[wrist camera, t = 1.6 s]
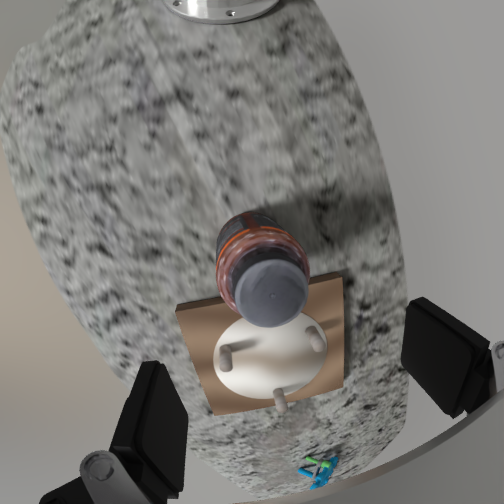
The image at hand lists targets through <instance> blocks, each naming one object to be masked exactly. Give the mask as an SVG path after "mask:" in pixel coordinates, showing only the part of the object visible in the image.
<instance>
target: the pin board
mask: <svg viewBox="0 0 504 504" xmlns="http://www.w3.org/2000/svg"><path fill="white" fill-rule="evenodd" d="M308 289H309V293H308V298H307V303H306V304H305V306H304V308H303V309H302V311H301V312H300V314H299V315H298V316H297V317H296V318H294V319H293V320H292V321H290V322H289V323H287V324H284V325H282V326H278V327H273V328H265V327H259V326H256V325H253V324H251V323H250V322H248V321H247V320H246V319H244V318H243V317H242V315H240V314H238V313H236V312H235V311H233V310H232V309H231V308H230V307H229V306H228V305H227V304H226V302H225V301H224V300H223V298H222V297H217V298H212V299H207V300H201V301H196V302H190V303H185V304H179V305H177V307H176V310H175V313H176V316H177V319H178V322H179V325H180V328H181V331H182V334H183V337H184V340H185V343H186V345H187V348H188V351H189V354H190V356H191V359H192V362H193V364H194V367H195V370H196V372H197V375H198V377H199V380H200V382H201V385H202V387H203V390H204V392H205V395H206V397H207V399H208V402H209V404H210V406H211V409H212V411H213V413H214V415H215V416H217V415H225V414H232V413H238V412H244V411H250V410H255V409H261V408H266V407H271V406H275V405H276V408H277V411H278V412H279V413H283V412H286V411H287V410H288V406H287V403H288V402H293V401H297V400H301V399H304V398H308V397H312V396H315V395H319V394H322V393H326V392H329V391H332V390H336V389H339V388H342V387H343V378H344V304H343V281H342V276H340V275H339V274H338V273H337V272H334V273H330V274H326V275H321V276H317V277H313V278H309V283H308Z"/></svg>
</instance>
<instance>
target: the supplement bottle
mask: <svg viewBox="0 0 504 504" xmlns="http://www.w3.org/2000/svg"><path fill="white" fill-rule="evenodd" d="M309 278H310V267H309V261H308V258H307V256H306V254H305V252H304V250H303V248H302V247H301V245H300V244H299V243H298V242H297V241H296V240H295V239H294V238H293V237H292V236H291V235H290V234H288V233H287V232H286V231H285V230H284V229H283V228H281V227H280V226H279V225H278V224H276V223H275V222H274V221H273V220H272V219H270V218H268V217H267V216H264V215H262V214H259V213H243V214H239V215H237V216H235V217H233V218H232V219H230V220H229V221H228V222H227V223H226V224H225V225H224V226H223V228H222V229H221V231H220V233H219V236H218V239H217V248H216V281H217V286H218V289H219V292H220V295H221V297H222V298H223V300H224V301H225V302H226V304H227V305H228V306H229V307H230V308H231V309H232V310H233V311H235V312H236V313H238V314H240V315H242V317H243V318H244V319H246V320H247V321H248V322H250V323H251V324H253V325H256V326H259V327H265V328H273V327H278V326H282V325H284V324H287V323H289V322H290V321H292V320H293V319H294V318H296V317H297V316H298V315H299V314H300V312H301V311H302V309H303V308H304V306H305V304H306V303H307V298H308V293H309V289H308V283H309Z"/></svg>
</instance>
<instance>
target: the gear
mask: <svg viewBox="0 0 504 504" xmlns="http://www.w3.org/2000/svg"><path fill="white" fill-rule="evenodd" d="M306 460H308V461H311V462H313V463H316V464H317V465H316V468H315V471H314V473H312V472H310V471H307V470H305V469H303V468H300V469H299V470H298V472H299V473H301V474H304V475H306V476H308V477H311V478H312V480H314V481H316V483H313V485H312V486H311V488H310V489H311V490H312V489H315V488H319V487H322V486H323V485H325V484H326V483H327V482H328V480H329V479H328V477H329V476H331V474H332V473H333V468H335V466H336V464H337V460H338V457H335V456H334V458H333V457H332V458H331V459H330V461H329V462H328V461H326V460H323V459H320V460H317V459H314V458H312V457H309V456H307V457H306ZM321 466H323V467H322V468H323V471H322V472H320V473H319V470H320V468H321Z"/></svg>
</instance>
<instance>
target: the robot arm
mask: <svg viewBox="0 0 504 504" xmlns="http://www.w3.org/2000/svg"><path fill="white" fill-rule="evenodd" d="M163 1H164V3H165V5H166V6H167V7H168V9H169V10H170V11H172V12H173V13H175V14H176V15H178V16H180V17H182V18H184V19H187V20H191V21H195V22H199V23H207V24H227V23H236V22H241V21H247V20H250V19H253V18H256V17H258V16H260V15H262V14H264V13H266V12H268V11H269V10H270V9H272V8H273V7H274V6H275V5H276V4H277V3H278V2H279V0H163ZM489 344H490V341H488V340H487V339H486V338H484V337H483V336H481V335H480V334H478V333H477V332H476V331H474V330H473V329H471V328H470V327H468V326H467V325H465V324H464V323H462V322H461V321H460V320H458V319H456V318H455V317H454V316H452V315H451V314H449V313H447V312H446V311H445V310H443V309H441V308H440V307H438V306H437V305H435V304H434V303H432V302H431V301H429V300H428V299H426V298H424V297H420V298H417V299H415V300H412V301H410V303H409V305H408V306H407V308H406V318H405V328H404V337H403V345H402V352H401V364H402V366H403V367H404V368H405V369H406V370H407V371H408V373H409V374H410V375H411V376H412V377H413V378H414V379H415V380H416V381H417V382H418V384H419V385H420V386H421V387H422V388H423V389H424V390H425V391H426V393H427V394H428V395H429V396H430V397H431V398H432V399H433V400H434V402H435V403H436V404H437V405H438V406H439V407H440V409H441V410H442V411H443V412H444V413H445V414H447V415H450V416H451V417H452V418H453V419H454V418H456V417H457V416H459V415H460V414H462V413H463V411H464V410H465V411H466V412H467V417H465V418H464V419H463V420H461V421H460V422H458V423H457V424H455V425H454V426H452V427H451V428H449V429H448V430H447V431H445V432H443V433H441V434H440V435H438V436H437V437H435V438H433V439H432V440H430V441H428V442H426V443H425V444H423V445H421V446H419V447H417V448H416V449H414V450H412V451H410V452H408V453H406V454H404V455H402V456H400V457H398V458H396V459H394V460H392V461H389V462H387V463H385V464H383V465H381V466H378V467H376V468H374V469H371V470H369V471H366V472H364V473H361V474H358V475H356V476H353V477H350V478H347V479H345V480H342V481H339V482H336V483H332V484H329V485H326V486H322V487H319V488H315V489H312V490H308V491H304V492H300V493H296V494H291V495H287V496H282V497H277V498H271V499H265V500H259V501H252V502H244V503H235V504H504V341H499V342H497V343H495V344H494V345H493V347H492V349H491V350H490V349H488V347H489ZM187 432H188V414H187V411H186V409H185V407H184V405H183V403H182V401H181V399H180V397H179V395H178V393H177V391H176V389H175V387H174V384H173V382H172V380H171V378H170V376H169V373H168V371H167V369H166V366H165V365H164V364H160V362H159V361H157V360H155V361H146V362H142V364H141V366H140V369H139V371H138V374H137V377H136V379H135V382H134V385H133V387H132V390H131V393H130V395H129V397H128V398H127V400H126V402H125V404H124V407H123V410H122V413H121V415H120V418H119V421H118V424H117V427H116V430H115V433H114V436H113V439H112V442H111V445H110V448H109V451H104V450H100V451H95V452H92V453H90V454H88V455H87V456H86V457H85V458H84V459H83V460H82V462H81V464H80V470H79V471H80V475H81V476H80V477H78V478H76V479H74V480H72V481H71V482H69V483H67V484H65V485H63V486H61V487H59V488H57V489H55V490H53V491H51V492H49V493H47V494H46V495H44V496H43V497H42V498H41V500H40V502H39V504H167V499H178V497H179V492H182V491H183V487H184V470H185V455H186V443H187Z"/></svg>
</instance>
